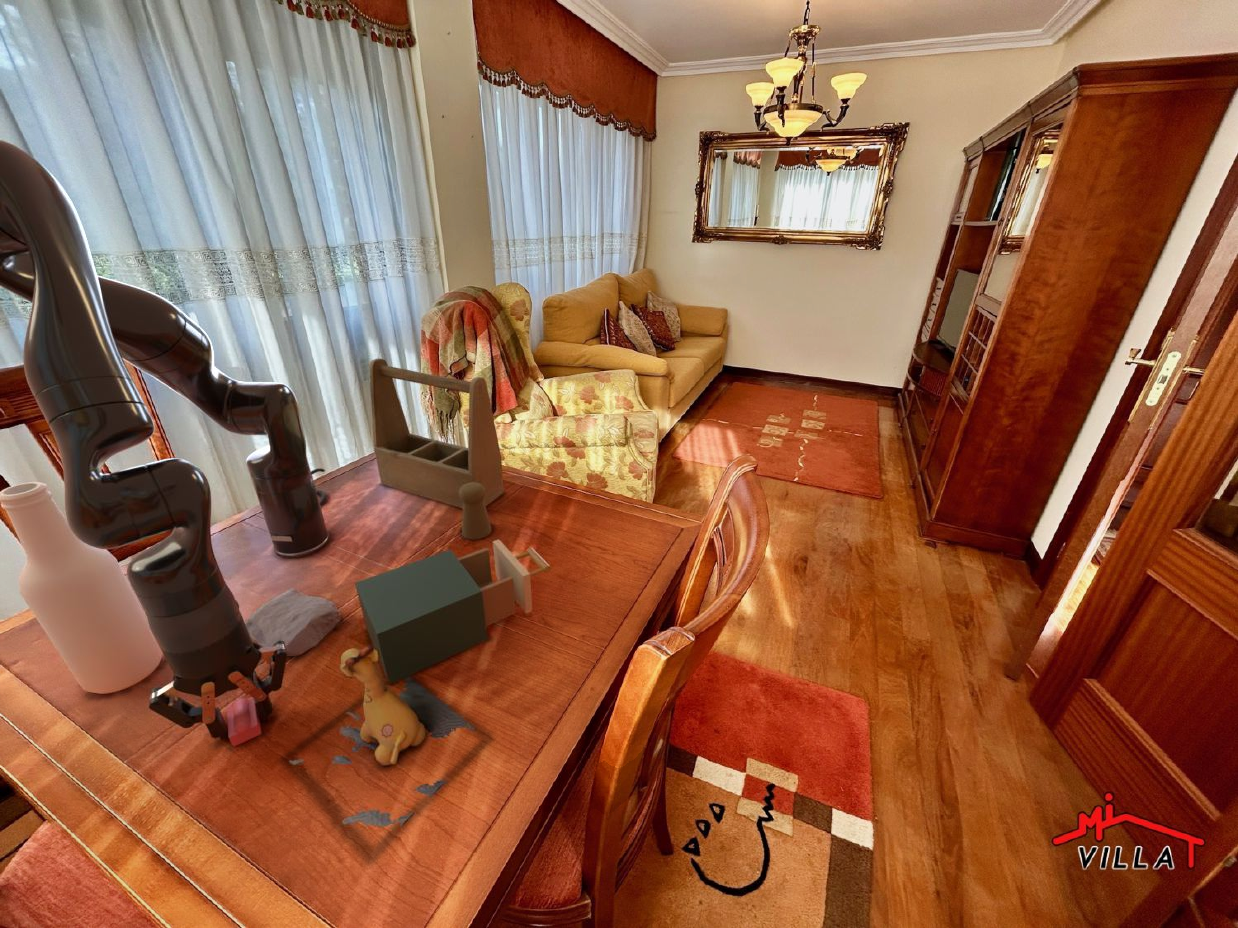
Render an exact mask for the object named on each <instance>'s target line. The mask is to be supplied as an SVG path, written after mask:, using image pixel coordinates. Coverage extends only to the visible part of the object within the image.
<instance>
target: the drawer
mask: <svg viewBox="0 0 1238 928" xmlns="http://www.w3.org/2000/svg"><path fill="white" fill-rule="evenodd" d="M492 550H493V560H494V569H495V577H496V579H497V580H498V581H495V582H494V580H493V578H492V577H493V576H492V568H491V559H490V558H491V557H490V550H489V548H488V547H484V548H482V549H479V550H477V551H473V552H470V553H468V554H466V555H463V556H460V557H457V559H458V560H459V561H460V563H461V564H462V565H463V567H464V568H465V569H466V571H467V572H468V573H469V575H470V576H471V577H472V579H473V580H474V581H475V583H476V584H477V585H478V587H479V588H480V589H481V591H482V596H483V605H484V613H485V622H486V627H488V626H491V625H492V624H495V623H497V622H500V621H501V620H504V619H506V618H508V617H510V616H512V615H514V614H516V613H517V611H516V604H517V605H518V606H519V607H520V608H521V610H522V611H523V612H524V613H525V614H526V615H527V614H529V613H531V612H533V601H532V586H531V578H532V577H535V576H537V575H540V574H542V573H544V574H548V573H550V572H551V571H552V567H551V565H550V564H549V563H548V562H547V560H545V559H544V558H543V557H542V556H541V555H540V554H539V553H538V552H537V551H536V549H534V548H533V547H528V548H527V549H526V551H525V552H522V553H519V554H516V555H514V554H513V553H512V552H511V551H510V550H509V549H508V547H506V545H505V544H504V543H503V542H502V541H501V540H500V539H496V540H493V541H492ZM526 557H529V558H530V559H531V560H532V561H533V562H534V563H535V564H536V565H537V566H538V567H539V568H537V569H535V570H532V571H530V572H529V571H528V570H527V569H526V567H525V566H524V565H522V563H521V562H520V561H519V560H521V559H523V558H526Z"/></svg>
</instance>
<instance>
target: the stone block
mask: <svg viewBox="0 0 1238 928" xmlns="http://www.w3.org/2000/svg"><path fill="white" fill-rule="evenodd" d="M340 622H341V615H340V611H339V609H338V607H337V606H336V604H335V603H334V602H333V601H330V600H329V599H327V598H324V597H320V596H316V595H315V596H314V595H313V596H310V595H306V594H304V593H301V592H300V591H298V590H297V589H296V588H289V589H288V590H286V591H285V592H283V593H280V594H279V595H276V596H275V597H273V598H272V599H270V600H268V601H267V602H265V603H264V604H262V605H261V606H259V607H258V608H257V609H256V610H254V611H253V612H252V613H251V614H250V615H249V616H248V617H247V618H246V619H245V625H246V627H247V630H248V632H249V635H250V637H251V640H252V641H255V642H256V644H257V645H259V646H260V647H261V648H263V647H270V646H273V645H274V643H275V642H277V641H284V643H285V647H286V652H287V657H297V656H300V655H302V654H304V653H305V652H307V651H309V650H311V649H312V648H314V647H316V646H317V645H318V644H319V643H320V642H321V641H322V640H323V639H324V638H325V637H326V636H327V635H328V634H329V633H330V632H331V631H332V630H333V629H334V628H335V627H336V626H337V625H338V624H339V623H340Z"/></svg>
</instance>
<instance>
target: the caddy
mask: <svg viewBox="0 0 1238 928" xmlns="http://www.w3.org/2000/svg"><path fill="white" fill-rule="evenodd" d="M368 367H369V385H370V386H369V388H370V407H371V419H372V422H371V423H372V439H373V450H374V455H375V460H376V465H377V471H378V474H379V479H380V484H382V485H383V486H387V487H389V488H393V489H396V490H400V491H403V492H406V493H409V494H414V495H417V496H420V497H423V498H426V499H429V500H433V501H437V502H439V503H443V504H445V505H450V506H452V507H456V508H460V509H462V510H463V502H462V501H461V499H460V497H459V490H460V488H461V487H462V486H463V485H464V484H467V483H471V482H476V483H480V484H482V485H483V487H484V488H485V498H484V503H485V507H486V508H487V506H488V505H490V504H492V503H493V502H494V501H495V500H497V499H498V498H499V497H500V496H502V495H503V494H504V483H503V481H504V480H503V479H504V478H503V463H502V462H503V461H502V454H501V448H500V444H499V439H498V434H497V428H496V424H495V419H494V414H493V409H492V405H491V400H490V399H491V398H490V394H489V389H488V384H487V381H486V379H485V378H484V377H482V376H477V377H474V378H472V379H471V381H469V380H463V379H459V378H453V377H447V376H440V375H436V374H430V373H424V372H420V371H416V370H415V371H414V370H410V369H406V368H401V367H395V366H390V365H389V364H388V362H387V361H386V359H384V358H380V357H378V358H374V359H372V360H370V362H369V365H368ZM394 379H395V380H401V381H406V382H411V383H415V384H420V385H426V386H431V387H435V388H439V389H444V390H449V391H455V392H459V393H460V392H461V393H465V394H469V395H468V398H469V399H468V447H466V446H462V445H458V444H453V443H449V442H444V441H441V440H438V439H432V438H428V437H425V436H422V435H418V434H414V433H411V432H410V429H409V426H408V422H407V420H406V417H405V413H404V410H403V408H402V405H401V402H400V399H399V396H398V393H397V388H396V385H395V382H394Z"/></svg>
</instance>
